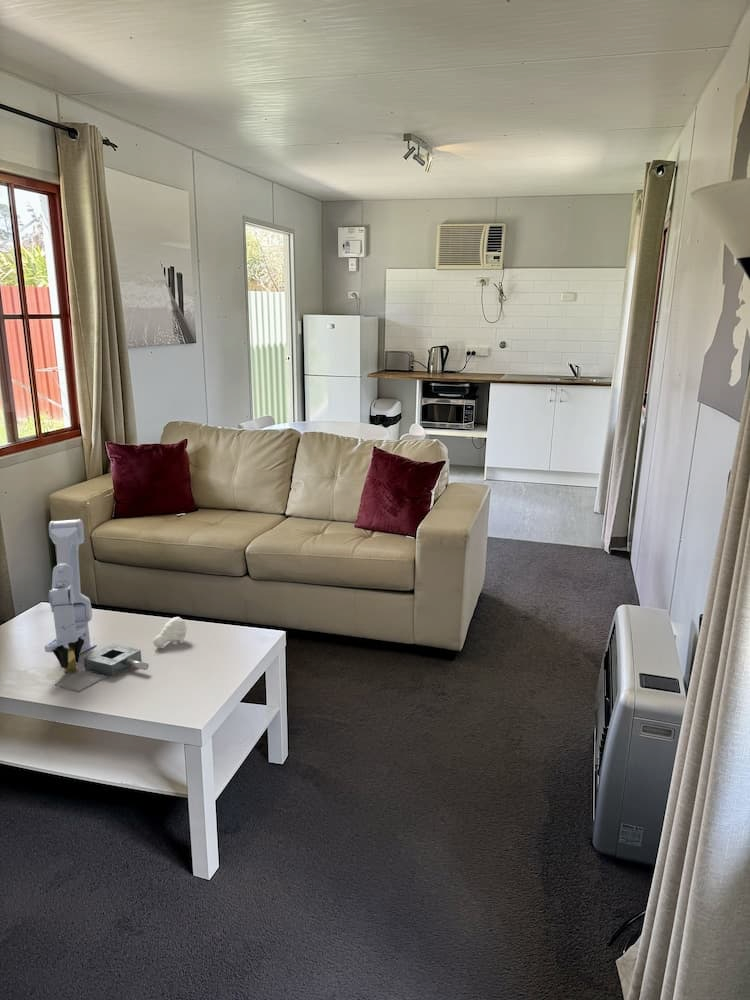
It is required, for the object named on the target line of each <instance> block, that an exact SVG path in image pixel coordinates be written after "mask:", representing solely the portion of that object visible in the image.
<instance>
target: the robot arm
mask: <svg viewBox="0 0 750 1000" xmlns="http://www.w3.org/2000/svg"><path fill="white" fill-rule="evenodd" d="M48 534H49V538H50V539H51V541H52V543H53V544H54V545H55V546H56V547H55V548H56V564H57V565H55V566H54V567H53V569H52V576H51V577H52V579H51V581H52V582H51V589H49V591H48V601H49V605H50V609H51V610H50V611H51V613H52V614H53V619H54V620H53V621H54V628H55V637H56V638H54V639H53V640H51V641H50V642H49V643H47V644H45V645H44V651H45V652H46V653H48V654H49V653H52V654H53V655H54V656H55V657H56V659H57V661H58V663H59V665H60V667H61V668H62V669H64V668H65V669H66V668H68V662H67V654H68V649H67V648H69V647H73V648H74V650H75V658H76V664H78V663H79V661H80V654H82V653H84V652H85V651H88V650H90V649H92V648H95V647H96V646H97V643H94V642H91V639H90V638H91V636H90V630H89V629H90V628H89V622H91V621H92V618H93V609H92V604H91V603H92V602H91V599H90V598H89V597H88V596H86V595H85V594H83V593H82V591H81V590H82V589H81V577H80V576H81V574H80V559H79V557H80V556H79V550H80V549H79V548H80V545H82V544H83V543H85V526H84V522H83V520H82V519H81V518H77V519H67V520H51V521H50V522H49V523H48Z"/></svg>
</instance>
